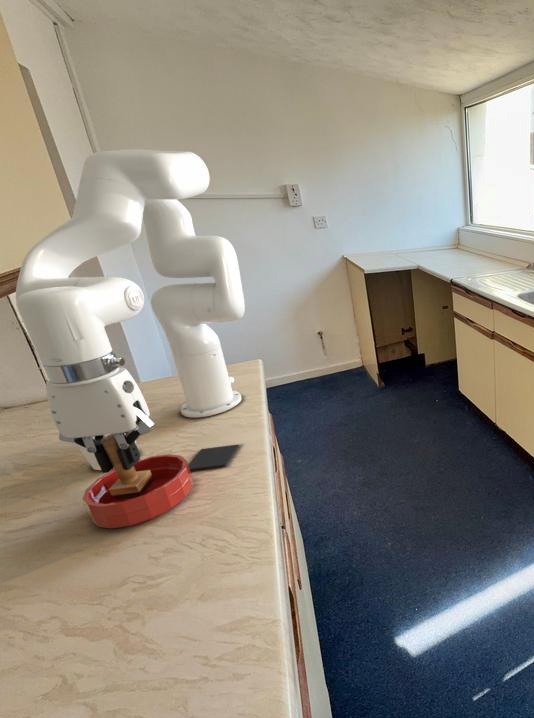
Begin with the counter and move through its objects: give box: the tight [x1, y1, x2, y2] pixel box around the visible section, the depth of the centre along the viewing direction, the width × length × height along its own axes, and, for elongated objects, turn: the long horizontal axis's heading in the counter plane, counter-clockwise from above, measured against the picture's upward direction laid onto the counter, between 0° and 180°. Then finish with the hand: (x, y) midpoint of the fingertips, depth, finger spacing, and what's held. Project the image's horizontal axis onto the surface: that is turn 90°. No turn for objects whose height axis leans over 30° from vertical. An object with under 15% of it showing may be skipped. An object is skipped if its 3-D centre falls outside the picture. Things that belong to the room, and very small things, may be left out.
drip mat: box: [188, 444, 240, 472], centre depth 81 cm, size 7×7×1 cm
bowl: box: [82, 453, 194, 529], centre depth 69 cm, size 13×13×5 cm
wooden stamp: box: [101, 434, 153, 500], centre depth 67 cm, size 4×4×12 cm
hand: (121, 465), depth 67 cm, fingers closed on wooden stamp, 2 cm apart
